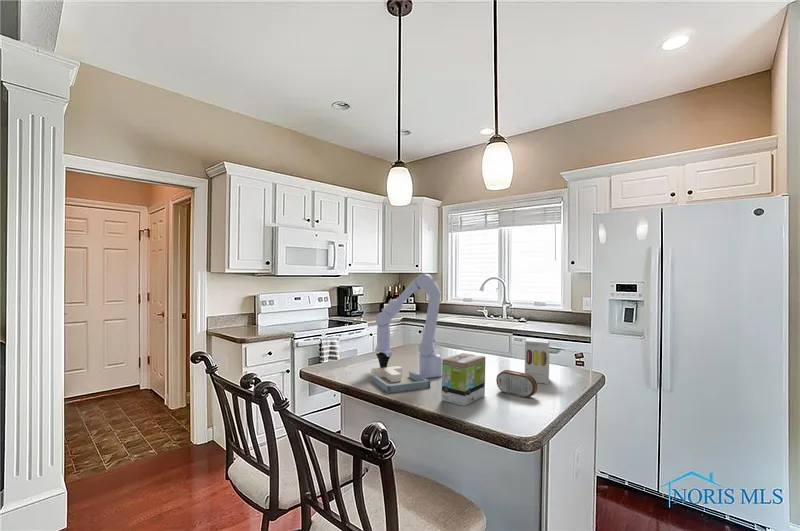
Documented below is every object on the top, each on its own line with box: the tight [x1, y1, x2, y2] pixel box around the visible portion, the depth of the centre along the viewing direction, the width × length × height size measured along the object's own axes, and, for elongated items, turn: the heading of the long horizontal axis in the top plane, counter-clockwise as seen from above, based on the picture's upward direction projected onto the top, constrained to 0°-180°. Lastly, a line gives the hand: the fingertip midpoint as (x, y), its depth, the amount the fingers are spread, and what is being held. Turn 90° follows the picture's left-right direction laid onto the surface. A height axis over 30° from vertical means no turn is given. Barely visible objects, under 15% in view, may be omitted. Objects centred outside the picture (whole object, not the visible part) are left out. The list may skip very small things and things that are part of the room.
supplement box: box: [524, 337, 550, 385], centre depth 166 cm, size 10×9×17 cm
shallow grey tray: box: [371, 370, 431, 394], centre depth 160 cm, size 18×17×2 cm
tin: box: [496, 369, 538, 398], centre depth 147 cm, size 15×3×8 cm, turn 50°
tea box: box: [441, 352, 486, 407], centre depth 143 cm, size 15×10×15 cm, turn 143°
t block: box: [370, 365, 403, 383], centre depth 169 cm, size 13×13×3 cm
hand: (383, 369), depth 177 cm, fingers closed
